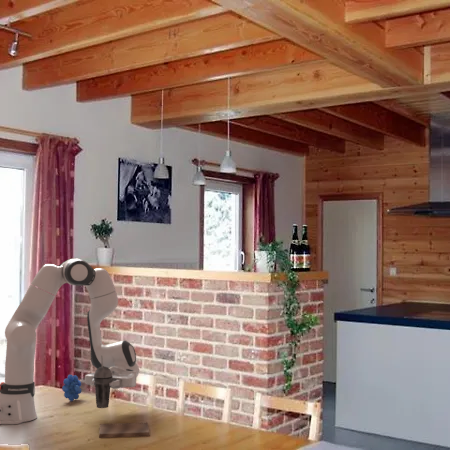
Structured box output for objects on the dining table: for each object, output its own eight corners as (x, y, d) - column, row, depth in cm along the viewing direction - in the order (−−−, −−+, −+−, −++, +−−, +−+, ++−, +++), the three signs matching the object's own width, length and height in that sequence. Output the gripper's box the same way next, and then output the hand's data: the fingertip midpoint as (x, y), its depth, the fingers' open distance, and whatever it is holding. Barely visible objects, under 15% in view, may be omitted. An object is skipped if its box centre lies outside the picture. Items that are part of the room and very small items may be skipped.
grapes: (69, 404, 292) (70, 377, 292) (58, 403, 295) (58, 375, 296) (88, 399, 302) (88, 373, 302) (76, 398, 305) (77, 371, 306)
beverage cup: (115, 405, 264) (116, 354, 264) (104, 409, 257) (105, 357, 258) (100, 403, 267) (101, 353, 267) (89, 407, 260) (90, 355, 261)
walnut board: (99, 437, 242) (99, 434, 242) (99, 427, 255) (99, 424, 255) (149, 435, 245) (149, 432, 245) (147, 425, 258) (147, 422, 259)
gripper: (93, 367, 277) (77, 373, 264) (139, 370, 272) (126, 377, 259) (93, 383, 277) (77, 390, 264) (139, 386, 272) (125, 393, 258)
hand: (101, 383), depth 261 cm, fingers closed on beverage cup, 6 cm apart
